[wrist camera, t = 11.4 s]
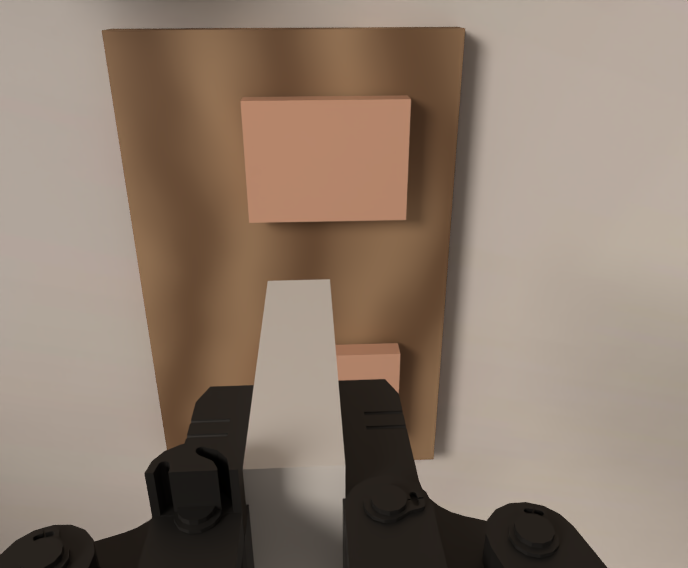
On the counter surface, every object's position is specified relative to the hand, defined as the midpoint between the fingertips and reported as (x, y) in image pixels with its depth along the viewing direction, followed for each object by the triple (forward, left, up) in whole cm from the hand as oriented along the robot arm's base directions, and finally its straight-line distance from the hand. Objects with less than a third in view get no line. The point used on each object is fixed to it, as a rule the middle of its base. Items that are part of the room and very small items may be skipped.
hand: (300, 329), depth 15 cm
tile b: (-3, 0, -17) cm, 17 cm away
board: (-1, -7, -20) cm, 21 cm away
